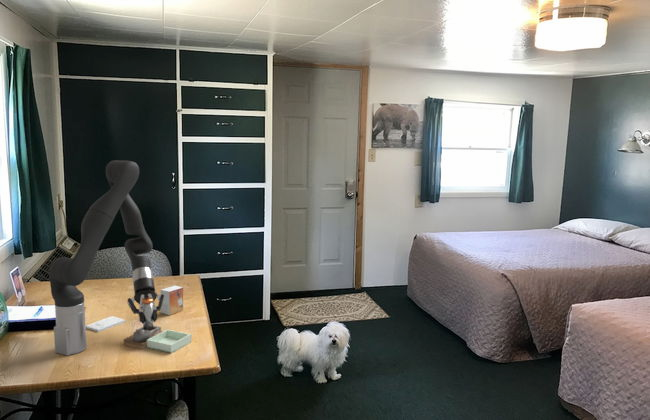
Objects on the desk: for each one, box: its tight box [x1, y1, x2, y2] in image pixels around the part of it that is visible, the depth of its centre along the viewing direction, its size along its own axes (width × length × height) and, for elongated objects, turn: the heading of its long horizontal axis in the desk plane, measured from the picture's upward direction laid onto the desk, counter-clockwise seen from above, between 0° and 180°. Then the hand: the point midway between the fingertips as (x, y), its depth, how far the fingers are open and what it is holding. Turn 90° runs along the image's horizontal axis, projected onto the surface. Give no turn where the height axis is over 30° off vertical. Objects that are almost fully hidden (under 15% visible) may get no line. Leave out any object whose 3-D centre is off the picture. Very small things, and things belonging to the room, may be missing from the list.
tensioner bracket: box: [123, 325, 164, 350], centre depth 189 cm, size 12×9×5 cm
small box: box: [159, 285, 184, 316], centre depth 219 cm, size 8×6×10 cm
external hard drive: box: [86, 315, 126, 333], centre depth 204 cm, size 2×8×12 cm
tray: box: [146, 329, 192, 354], centre depth 186 cm, size 11×11×3 cm
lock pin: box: [142, 298, 154, 331], centre depth 191 cm, size 4×4×13 cm
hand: (149, 321), depth 190 cm, fingers closed on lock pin, 3 cm apart
